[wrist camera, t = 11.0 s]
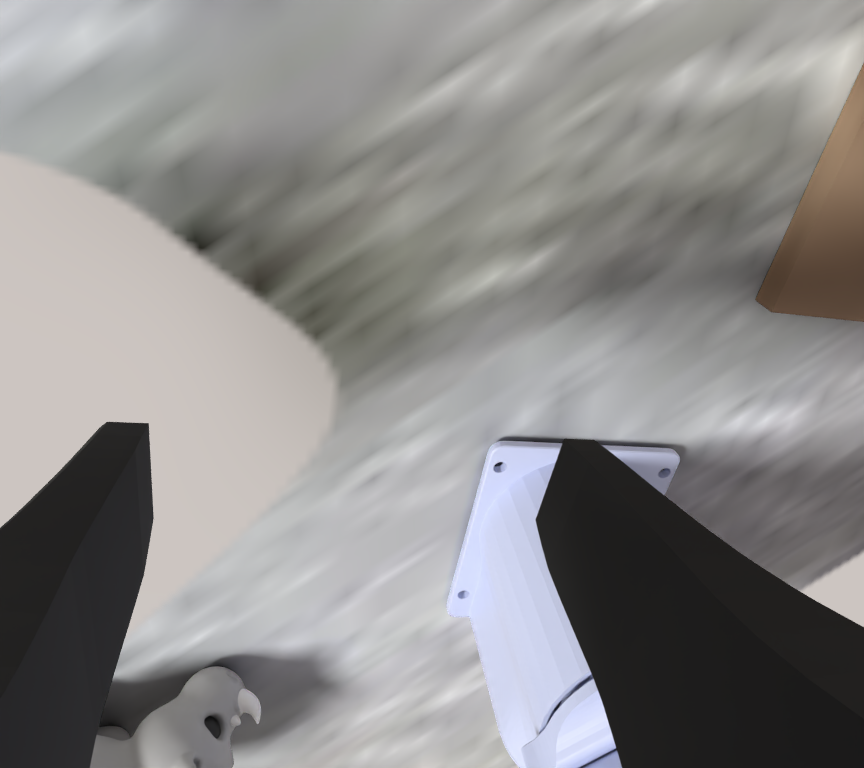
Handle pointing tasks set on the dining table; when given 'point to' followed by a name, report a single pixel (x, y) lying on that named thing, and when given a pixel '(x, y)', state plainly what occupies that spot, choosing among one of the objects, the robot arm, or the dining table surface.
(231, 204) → the dining table surface
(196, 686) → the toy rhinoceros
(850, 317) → the mount
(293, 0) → the dining table surface
